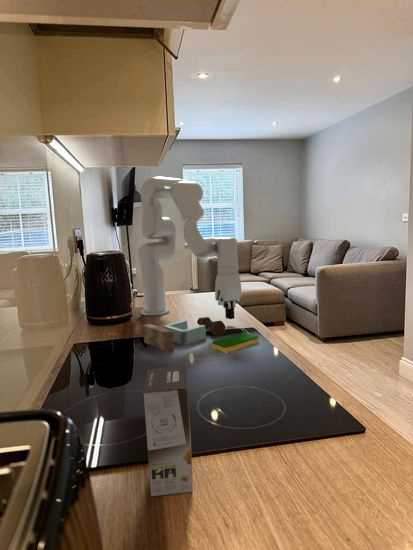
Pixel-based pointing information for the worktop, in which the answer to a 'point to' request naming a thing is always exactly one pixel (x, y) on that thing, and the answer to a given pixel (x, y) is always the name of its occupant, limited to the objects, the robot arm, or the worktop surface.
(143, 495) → the worktop surface
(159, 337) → the wooden plank
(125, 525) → the worktop surface
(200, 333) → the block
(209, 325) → the bolt
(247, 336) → the dish sponge
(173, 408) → the coffee box
